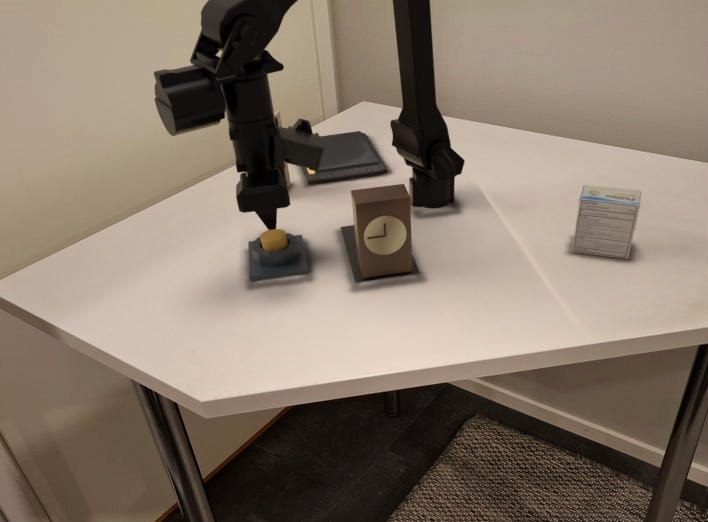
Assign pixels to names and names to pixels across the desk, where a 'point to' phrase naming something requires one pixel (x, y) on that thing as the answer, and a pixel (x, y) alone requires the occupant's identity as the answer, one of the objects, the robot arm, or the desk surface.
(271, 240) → the button
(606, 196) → the medicine box
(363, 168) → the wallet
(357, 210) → the alarm clock
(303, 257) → the switch block
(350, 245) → the dark grey flat slab
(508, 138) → the desk surface
